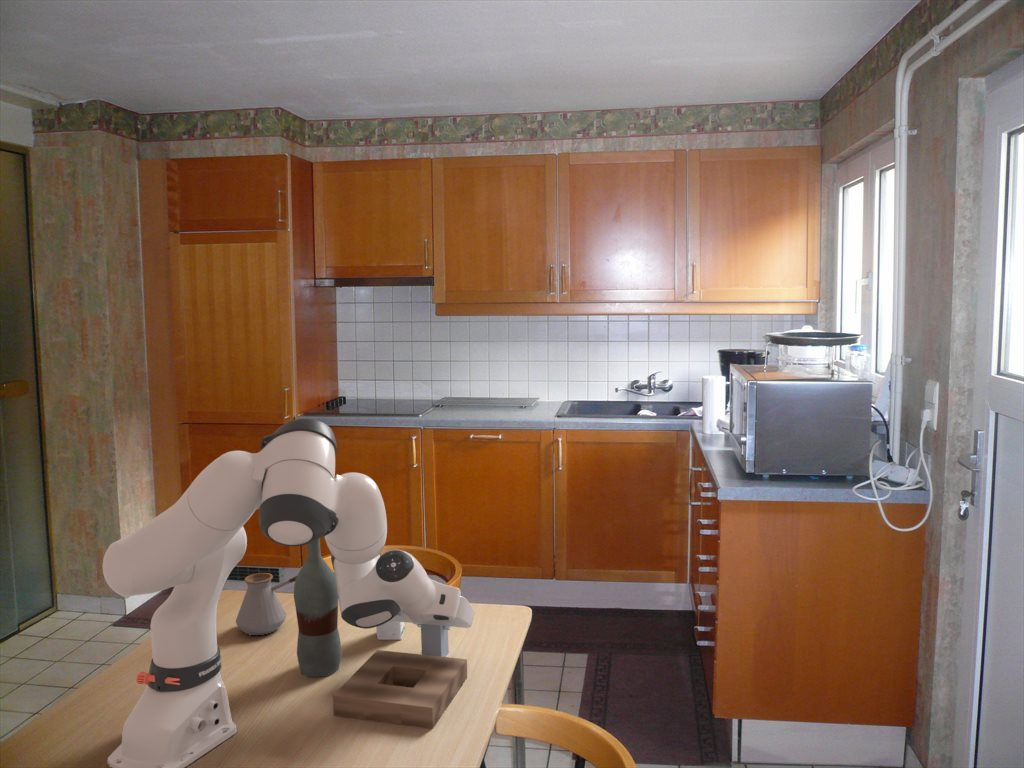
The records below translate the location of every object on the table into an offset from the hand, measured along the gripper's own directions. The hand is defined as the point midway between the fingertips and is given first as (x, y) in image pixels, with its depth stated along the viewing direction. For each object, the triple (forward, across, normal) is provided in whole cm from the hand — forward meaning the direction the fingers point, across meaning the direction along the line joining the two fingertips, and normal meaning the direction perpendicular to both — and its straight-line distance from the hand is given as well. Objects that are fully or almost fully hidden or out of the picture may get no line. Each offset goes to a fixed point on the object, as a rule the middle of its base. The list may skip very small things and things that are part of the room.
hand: (435, 625), depth 180 cm
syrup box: (+10, -14, 0) cm, 17 cm away
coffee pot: (+9, -41, -1) cm, 42 cm away
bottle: (-3, -22, -13) cm, 26 cm away
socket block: (-8, 0, -18) cm, 20 cm away
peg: (+4, 0, -5) cm, 7 cm away
